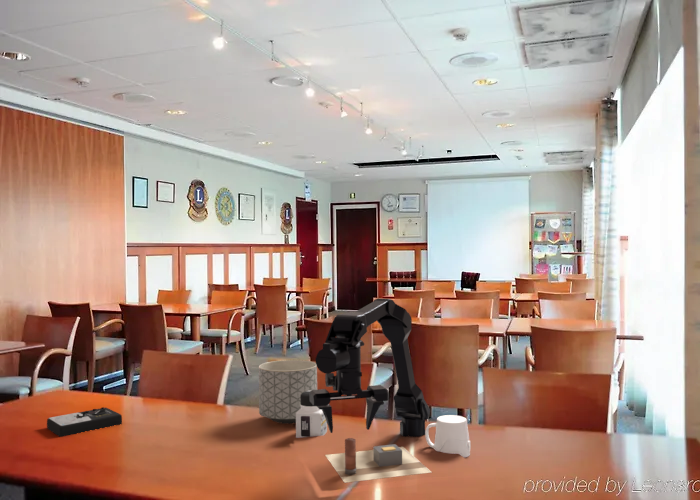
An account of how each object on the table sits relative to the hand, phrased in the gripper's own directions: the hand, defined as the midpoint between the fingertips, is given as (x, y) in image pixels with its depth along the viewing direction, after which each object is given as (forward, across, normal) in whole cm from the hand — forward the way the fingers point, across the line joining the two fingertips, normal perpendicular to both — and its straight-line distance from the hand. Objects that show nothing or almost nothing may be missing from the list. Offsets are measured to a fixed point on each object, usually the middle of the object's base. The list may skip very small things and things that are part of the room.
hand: (349, 430), depth 145 cm
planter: (+12, +6, -55) cm, 56 cm away
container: (+12, +2, -37) cm, 38 cm away
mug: (+12, -30, -10) cm, 34 cm away
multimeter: (+12, +70, -69) cm, 99 cm away
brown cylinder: (+10, 0, 0) cm, 10 cm away
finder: (+10, -11, -4) cm, 16 cm away
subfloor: (+11, -8, -5) cm, 15 cm away
